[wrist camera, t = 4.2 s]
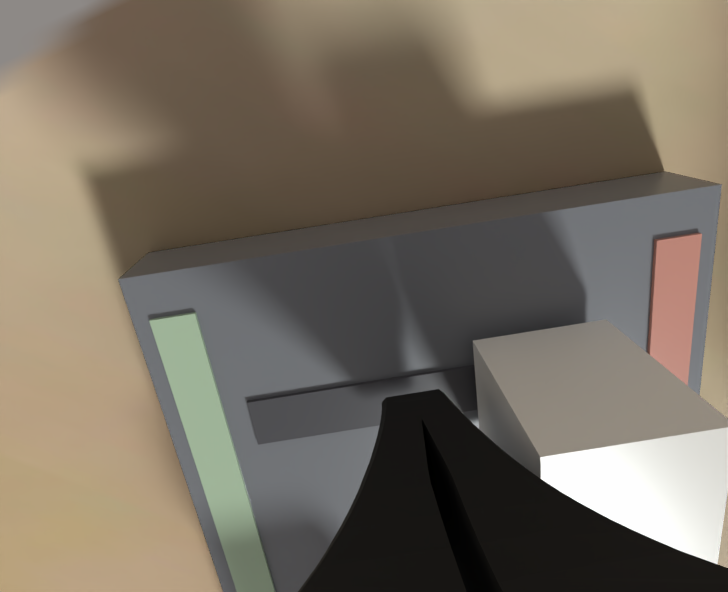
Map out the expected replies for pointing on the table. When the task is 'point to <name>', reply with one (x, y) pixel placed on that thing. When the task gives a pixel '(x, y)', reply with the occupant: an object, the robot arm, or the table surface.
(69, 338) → the table surface
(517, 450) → the switch
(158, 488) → the table surface
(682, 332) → the panel
